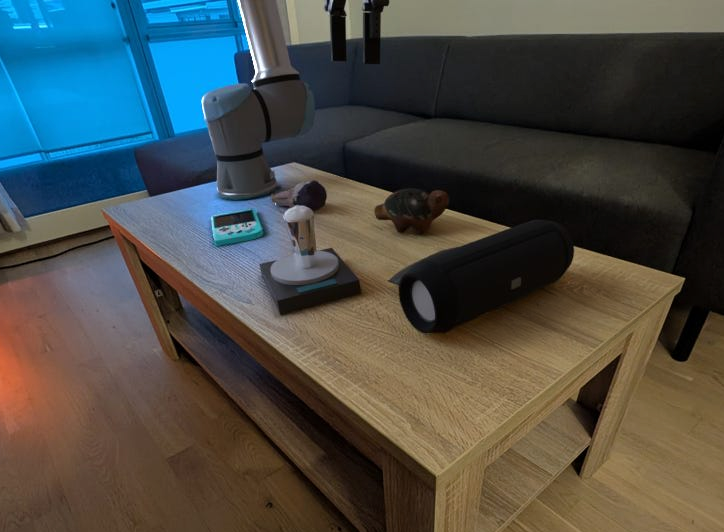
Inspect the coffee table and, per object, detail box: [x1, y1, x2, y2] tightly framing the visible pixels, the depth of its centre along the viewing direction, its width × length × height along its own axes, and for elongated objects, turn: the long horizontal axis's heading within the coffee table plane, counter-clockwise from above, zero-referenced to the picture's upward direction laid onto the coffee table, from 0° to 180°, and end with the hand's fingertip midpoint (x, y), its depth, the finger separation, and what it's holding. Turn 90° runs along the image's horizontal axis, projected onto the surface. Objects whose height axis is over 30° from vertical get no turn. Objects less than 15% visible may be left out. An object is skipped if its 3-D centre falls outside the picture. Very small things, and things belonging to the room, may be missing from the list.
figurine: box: [270, 179, 328, 212], centre depth 102 cm, size 10×6×15 cm
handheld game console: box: [210, 208, 264, 247], centre depth 96 cm, size 10×16×1 cm, turn 20°
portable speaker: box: [398, 218, 575, 335], centre depth 62 cm, size 26×10×10 cm, turn 124°
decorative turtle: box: [373, 187, 450, 236], centre depth 88 cm, size 10×15×8 cm, turn 76°
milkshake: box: [275, 203, 318, 268], centre depth 69 cm, size 4×5×10 cm
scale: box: [258, 247, 362, 316], centre depth 73 cm, size 14×13×3 cm
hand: (354, 62), depth 77 cm, fingers open, 13 cm apart
